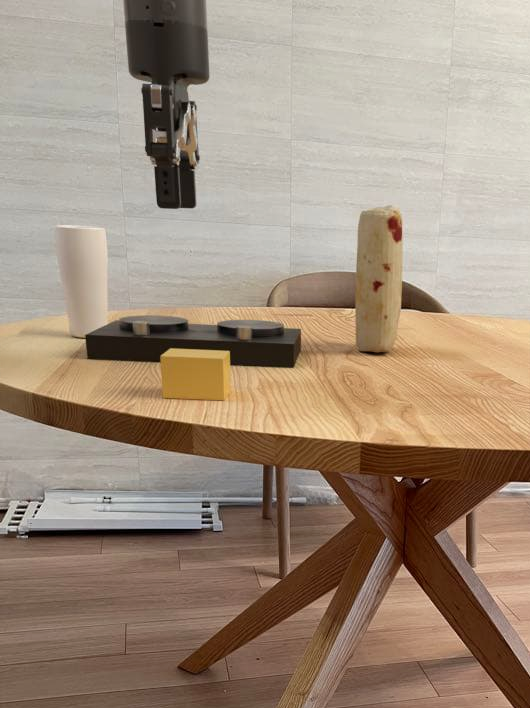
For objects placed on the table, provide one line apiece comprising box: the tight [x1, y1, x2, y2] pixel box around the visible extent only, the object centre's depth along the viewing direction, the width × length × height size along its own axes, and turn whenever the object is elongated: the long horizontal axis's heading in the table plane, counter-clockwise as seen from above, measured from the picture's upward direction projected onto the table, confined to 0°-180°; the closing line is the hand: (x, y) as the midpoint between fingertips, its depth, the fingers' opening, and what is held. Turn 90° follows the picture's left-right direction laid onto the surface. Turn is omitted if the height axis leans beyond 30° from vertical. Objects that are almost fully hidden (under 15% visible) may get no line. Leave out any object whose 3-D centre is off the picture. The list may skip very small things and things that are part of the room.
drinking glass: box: [54, 224, 109, 339], centre depth 118 cm, size 7×7×15 cm
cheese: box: [160, 348, 232, 401], centre depth 88 cm, size 6×5×4 cm
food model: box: [354, 204, 404, 353], centre depth 118 cm, size 10×7×20 cm
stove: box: [84, 314, 302, 369], centre depth 111 cm, size 26×14×5 cm, turn 93°
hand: (177, 208), depth 84 cm, fingers open, 8 cm apart
